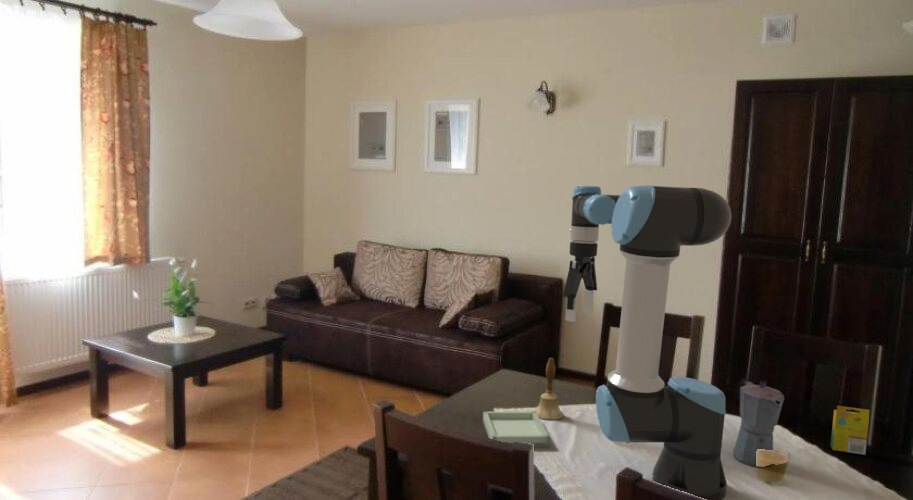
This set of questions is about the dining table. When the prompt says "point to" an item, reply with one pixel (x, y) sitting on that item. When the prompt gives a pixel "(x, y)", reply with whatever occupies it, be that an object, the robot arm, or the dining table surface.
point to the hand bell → (549, 397)
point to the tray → (516, 428)
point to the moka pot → (756, 419)
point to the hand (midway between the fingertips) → (579, 316)
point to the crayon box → (850, 430)
